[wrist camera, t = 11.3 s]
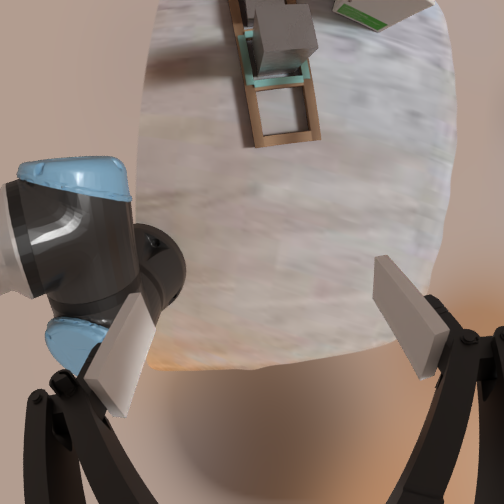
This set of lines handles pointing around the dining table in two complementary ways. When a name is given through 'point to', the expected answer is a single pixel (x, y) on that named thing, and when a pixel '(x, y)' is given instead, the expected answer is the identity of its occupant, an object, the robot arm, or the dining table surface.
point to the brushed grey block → (282, 38)
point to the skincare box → (380, 11)
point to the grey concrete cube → (250, 4)
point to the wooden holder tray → (273, 83)
